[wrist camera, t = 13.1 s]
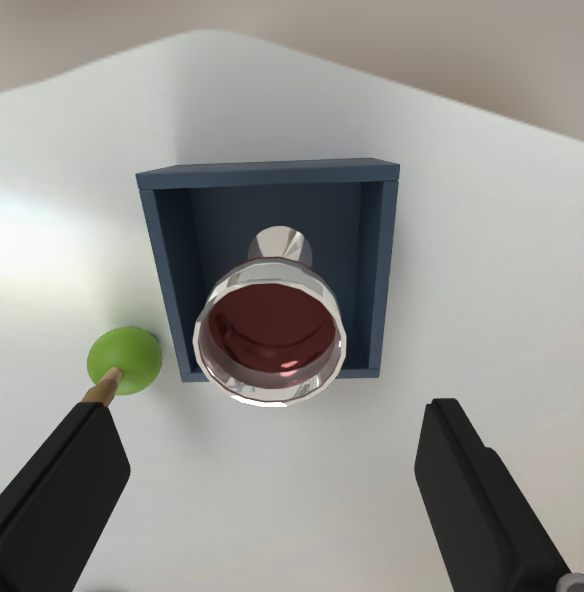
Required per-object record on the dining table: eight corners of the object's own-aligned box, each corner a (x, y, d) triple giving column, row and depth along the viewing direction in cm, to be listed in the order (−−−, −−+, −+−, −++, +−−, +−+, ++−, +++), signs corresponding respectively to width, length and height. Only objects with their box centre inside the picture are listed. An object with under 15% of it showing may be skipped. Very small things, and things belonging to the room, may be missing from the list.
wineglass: (283, 313, 27) (277, 429, 16) (217, 260, 25) (160, 352, 14) (343, 255, 25) (381, 344, 14) (275, 193, 23) (260, 241, 12)
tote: (176, 165, 23) (134, 173, 17) (372, 157, 22) (400, 163, 17) (205, 332, 29) (182, 382, 23) (361, 327, 28) (379, 378, 22)
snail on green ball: (95, 354, 30) (-19, 477, 19) (124, 303, 27) (14, 410, 17) (150, 382, 31) (73, 512, 20) (182, 336, 29) (115, 454, 18)
